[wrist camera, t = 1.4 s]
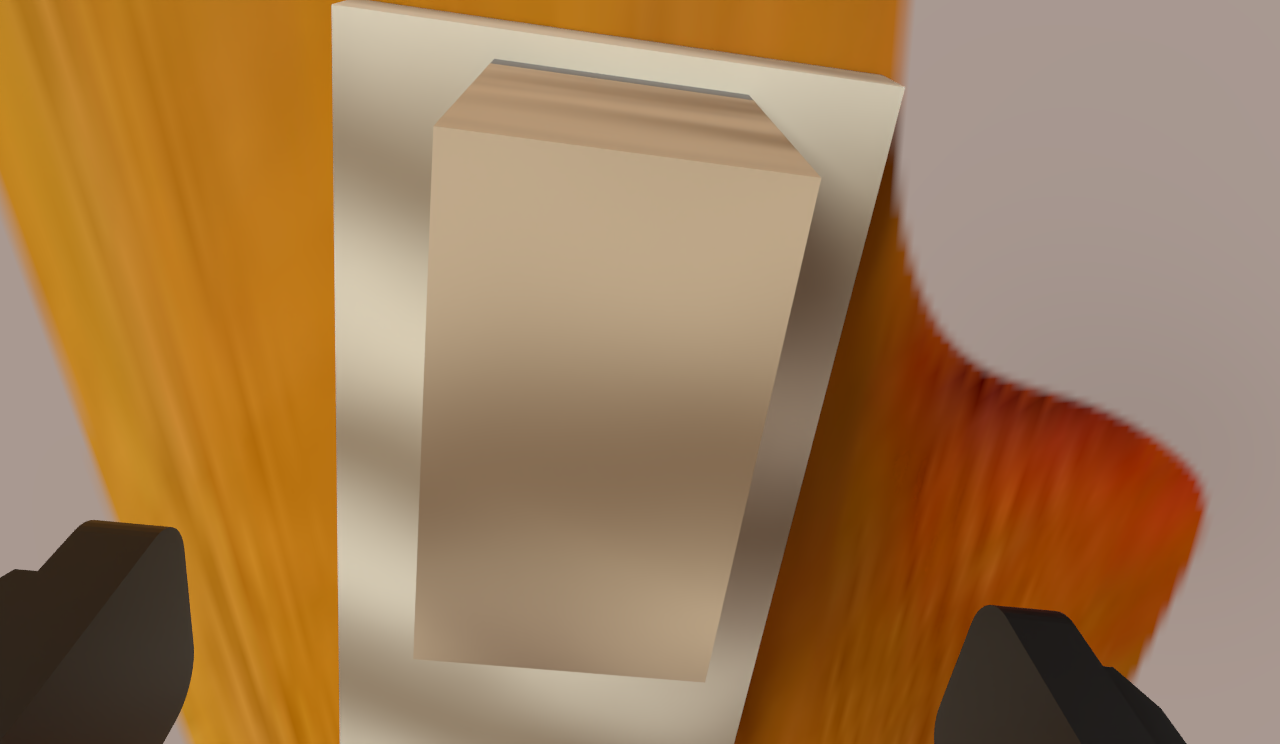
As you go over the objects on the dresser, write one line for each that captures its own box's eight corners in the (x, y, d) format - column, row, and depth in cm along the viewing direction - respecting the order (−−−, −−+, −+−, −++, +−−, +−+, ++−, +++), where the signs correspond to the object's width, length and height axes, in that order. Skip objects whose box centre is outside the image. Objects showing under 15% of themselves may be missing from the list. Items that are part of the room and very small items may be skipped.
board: (354, -2, 16) (331, 4, 15) (882, 75, 17) (905, 86, 16) (354, 710, 24) (340, 757, 23) (717, 737, 25) (723, 783, 24)
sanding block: (494, 58, 15) (433, 126, 10) (748, 94, 16) (820, 178, 10) (468, 452, 19) (413, 658, 14) (677, 473, 19) (704, 682, 14)
